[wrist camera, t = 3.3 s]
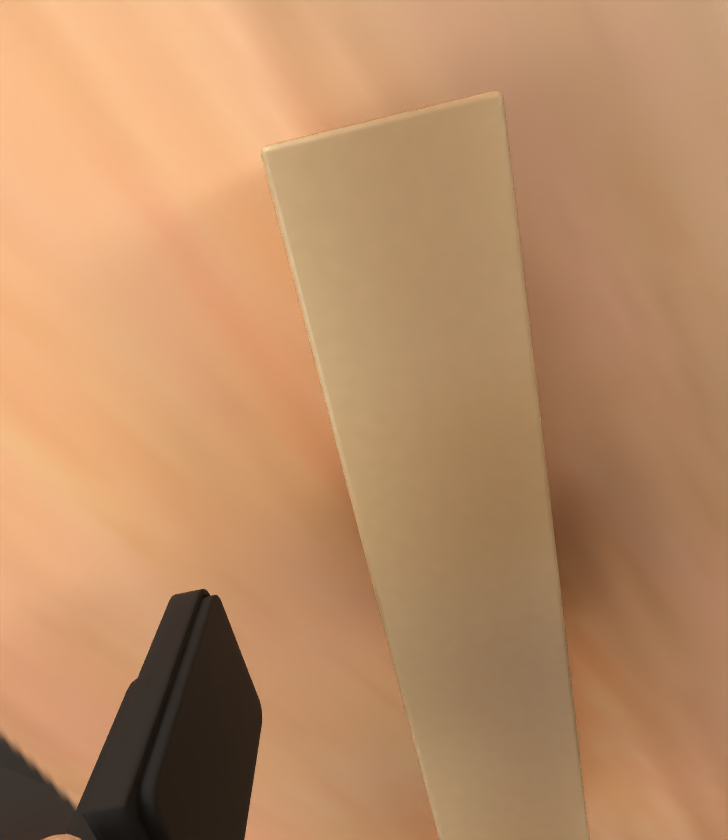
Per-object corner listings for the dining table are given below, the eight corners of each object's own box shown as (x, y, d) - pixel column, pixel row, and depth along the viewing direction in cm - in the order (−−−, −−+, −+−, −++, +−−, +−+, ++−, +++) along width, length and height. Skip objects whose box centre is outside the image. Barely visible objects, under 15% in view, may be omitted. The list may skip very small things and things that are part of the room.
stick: (446, 819, 15) (470, 960, 13) (281, 156, 9) (257, 147, 7) (554, 800, 15) (602, 938, 12) (455, 115, 9) (505, 87, 7)
